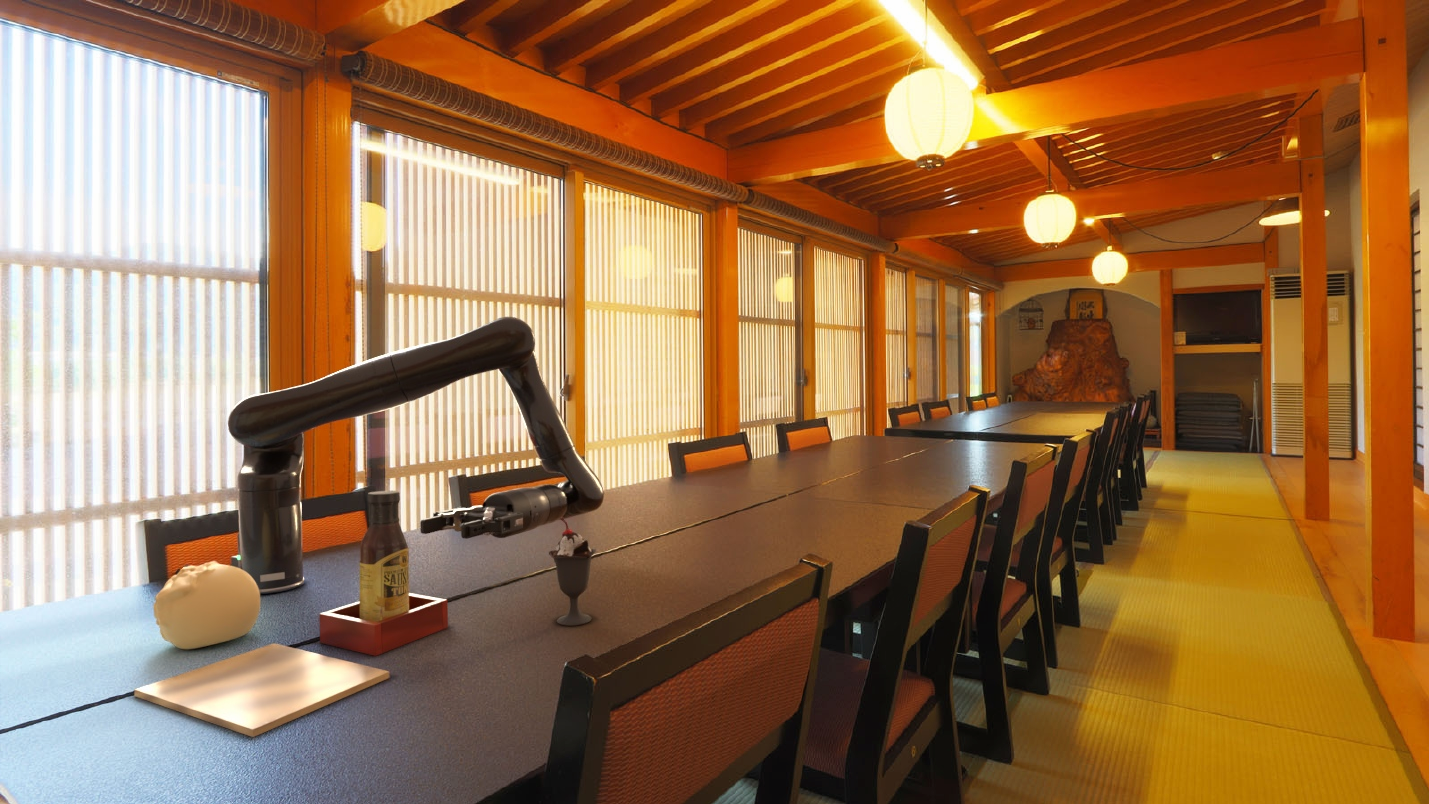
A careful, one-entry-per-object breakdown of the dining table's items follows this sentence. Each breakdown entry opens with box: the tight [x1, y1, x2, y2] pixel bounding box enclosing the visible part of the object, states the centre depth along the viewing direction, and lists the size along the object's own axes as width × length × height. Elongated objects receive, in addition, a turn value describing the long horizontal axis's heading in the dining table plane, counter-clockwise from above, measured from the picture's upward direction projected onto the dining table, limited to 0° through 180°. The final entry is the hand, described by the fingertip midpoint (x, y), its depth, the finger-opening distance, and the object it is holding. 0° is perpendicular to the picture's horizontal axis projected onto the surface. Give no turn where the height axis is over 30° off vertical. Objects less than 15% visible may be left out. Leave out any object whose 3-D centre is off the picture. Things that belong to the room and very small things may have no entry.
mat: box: [133, 642, 390, 738], centre depth 85 cm, size 22×16×1 cm
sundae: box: [548, 517, 597, 627], centre depth 107 cm, size 7×7×15 cm
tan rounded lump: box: [152, 560, 262, 650], centre depth 100 cm, size 11×12×11 cm
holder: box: [318, 592, 449, 657], centre depth 102 cm, size 11×12×4 cm
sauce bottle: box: [359, 490, 410, 622], centre depth 101 cm, size 7×6×20 cm
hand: (442, 529), depth 111 cm, fingers open, 8 cm apart
